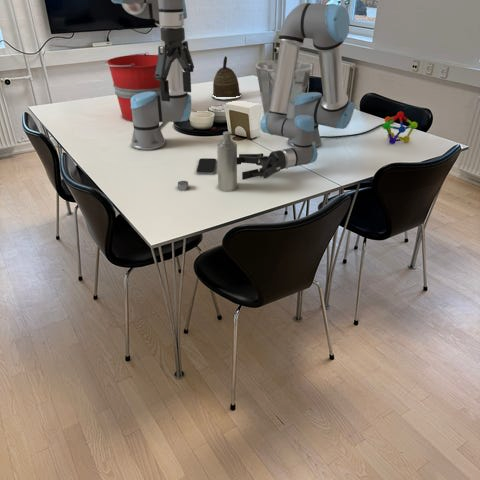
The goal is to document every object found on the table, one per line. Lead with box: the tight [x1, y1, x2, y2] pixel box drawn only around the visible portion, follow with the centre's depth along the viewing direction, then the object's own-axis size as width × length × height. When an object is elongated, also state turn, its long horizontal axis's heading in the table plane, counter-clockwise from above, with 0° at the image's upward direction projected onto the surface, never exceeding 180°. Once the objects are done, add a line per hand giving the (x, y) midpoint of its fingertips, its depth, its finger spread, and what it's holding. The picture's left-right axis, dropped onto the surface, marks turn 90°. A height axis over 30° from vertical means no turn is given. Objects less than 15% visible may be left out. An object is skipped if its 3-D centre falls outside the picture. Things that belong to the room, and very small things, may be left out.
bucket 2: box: [255, 59, 313, 119], centre depth 236 cm, size 30×30×28 cm
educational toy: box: [382, 110, 418, 145], centre depth 207 cm, size 16×13×15 cm
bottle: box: [216, 131, 238, 192], centre depth 163 cm, size 7×7×21 cm
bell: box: [212, 56, 242, 97], centre depth 278 cm, size 19×26×20 cm
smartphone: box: [196, 157, 217, 175], centre depth 184 cm, size 7×1×15 cm
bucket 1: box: [103, 52, 161, 122], centre depth 240 cm, size 35×35×30 cm
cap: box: [177, 180, 190, 191], centre depth 167 cm, size 4×4×2 cm
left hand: (177, 96), depth 149 cm, fingers open, 13 cm apart
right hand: (233, 169), depth 166 cm, fingers open, 13 cm apart
